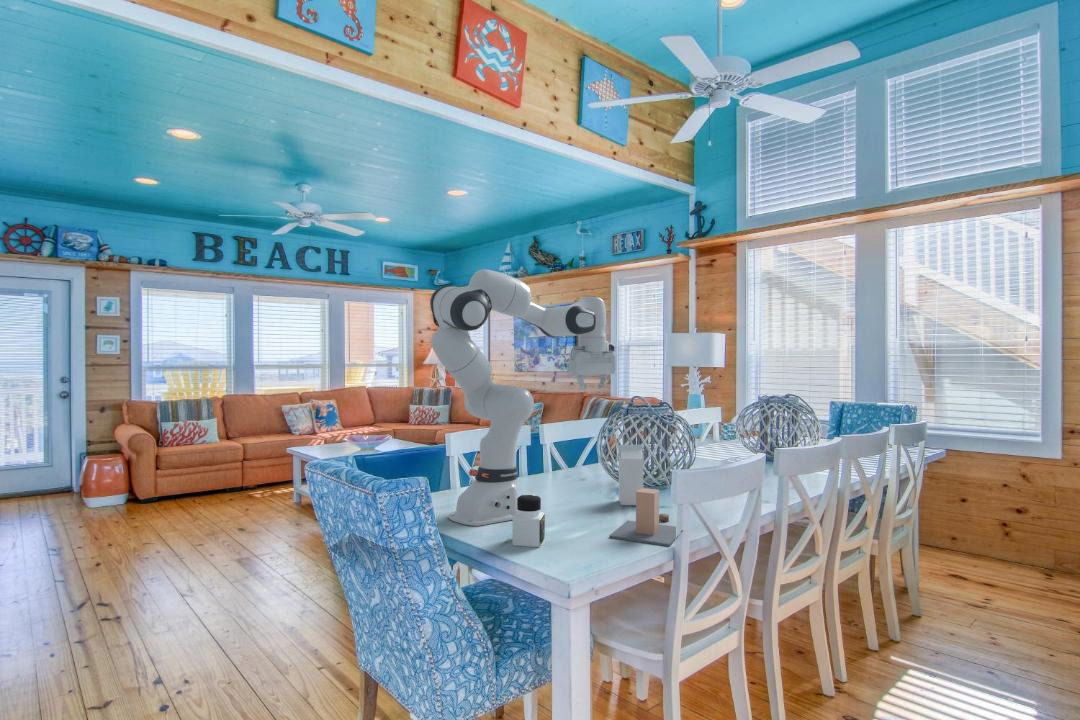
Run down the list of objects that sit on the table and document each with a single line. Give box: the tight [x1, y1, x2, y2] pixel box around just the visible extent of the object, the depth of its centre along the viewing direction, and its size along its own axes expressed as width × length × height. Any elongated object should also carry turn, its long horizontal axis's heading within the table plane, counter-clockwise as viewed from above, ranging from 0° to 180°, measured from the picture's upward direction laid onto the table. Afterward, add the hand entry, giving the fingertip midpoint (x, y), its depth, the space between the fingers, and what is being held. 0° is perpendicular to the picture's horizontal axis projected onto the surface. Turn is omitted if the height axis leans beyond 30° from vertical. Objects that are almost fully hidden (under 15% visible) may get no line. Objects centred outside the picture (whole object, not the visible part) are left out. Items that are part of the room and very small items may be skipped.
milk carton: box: [618, 444, 645, 506], centre depth 193 cm, size 7×7×19 cm
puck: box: [659, 513, 670, 523], centre depth 172 cm, size 3×3×2 cm
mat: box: [608, 520, 677, 547], centre depth 159 cm, size 16×16×1 cm
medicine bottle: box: [512, 493, 546, 548], centre depth 151 cm, size 7×7×12 cm
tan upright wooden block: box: [635, 487, 660, 535], centre depth 159 cm, size 5×5×11 cm
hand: (592, 389), depth 192 cm, fingers open, 8 cm apart
